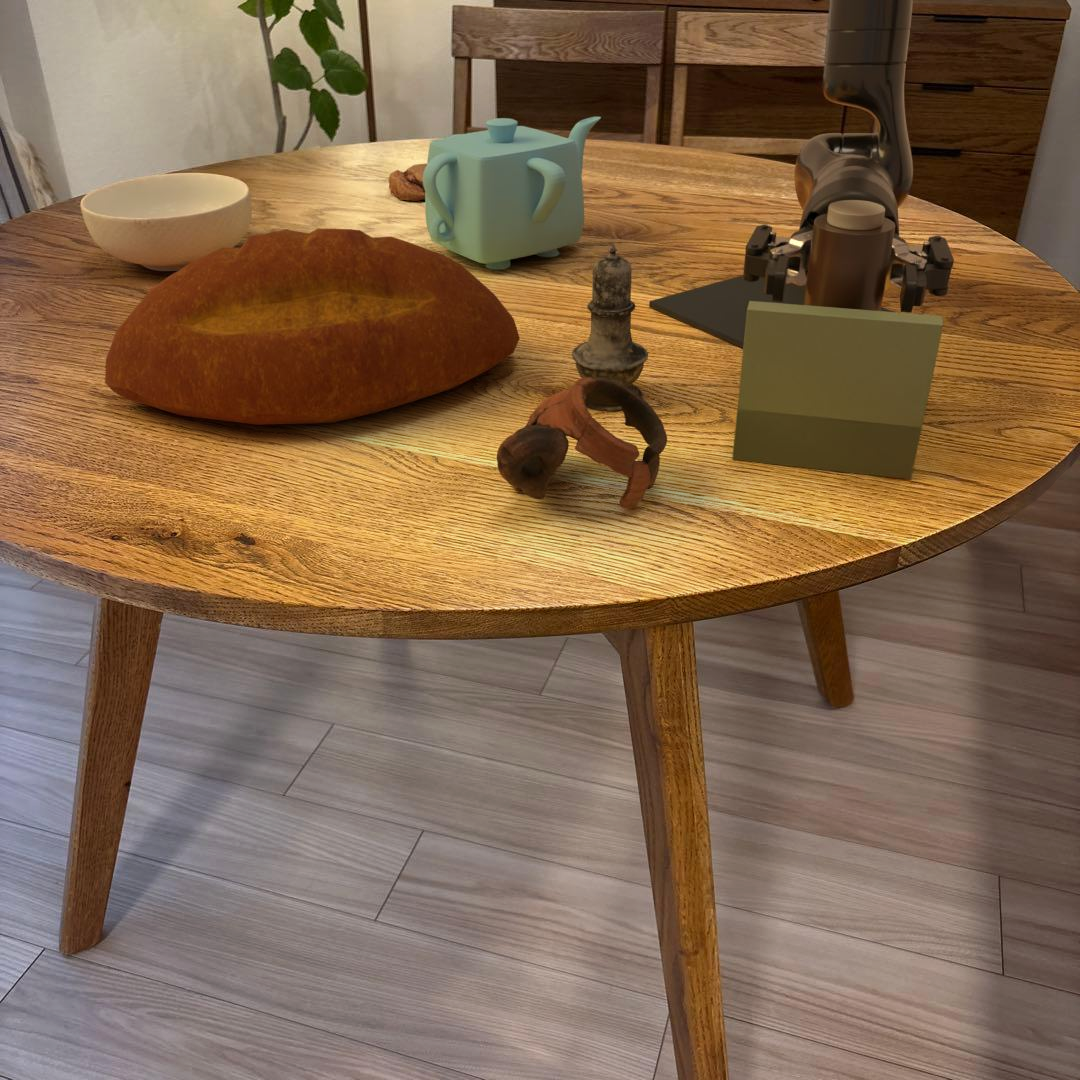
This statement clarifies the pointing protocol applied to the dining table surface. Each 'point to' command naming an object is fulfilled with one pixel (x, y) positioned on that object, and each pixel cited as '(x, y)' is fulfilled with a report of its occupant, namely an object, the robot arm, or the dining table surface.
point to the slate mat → (724, 306)
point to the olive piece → (834, 387)
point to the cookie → (408, 183)
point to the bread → (308, 330)
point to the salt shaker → (611, 329)
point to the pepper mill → (849, 256)
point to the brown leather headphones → (583, 440)
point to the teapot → (506, 191)
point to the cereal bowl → (168, 218)
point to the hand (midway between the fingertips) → (843, 293)
